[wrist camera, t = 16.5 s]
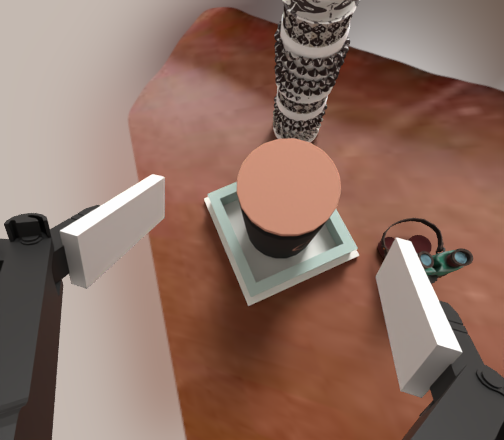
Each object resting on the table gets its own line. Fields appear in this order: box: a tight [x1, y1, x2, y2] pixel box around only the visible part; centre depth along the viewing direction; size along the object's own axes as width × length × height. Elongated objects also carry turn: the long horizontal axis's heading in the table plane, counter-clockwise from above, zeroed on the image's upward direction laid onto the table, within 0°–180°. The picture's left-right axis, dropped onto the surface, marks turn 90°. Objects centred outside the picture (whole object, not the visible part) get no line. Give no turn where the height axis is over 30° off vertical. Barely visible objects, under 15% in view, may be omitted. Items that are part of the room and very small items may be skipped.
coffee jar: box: [237, 138, 341, 258], centre depth 37 cm, size 11×11×18 cm
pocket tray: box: [204, 182, 359, 306], centre depth 45 cm, size 19×19×4 cm
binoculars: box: [378, 218, 473, 283], centre depth 40 cm, size 9×11×10 cm
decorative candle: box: [273, 0, 360, 142], centre depth 40 cm, size 9×9×25 cm
